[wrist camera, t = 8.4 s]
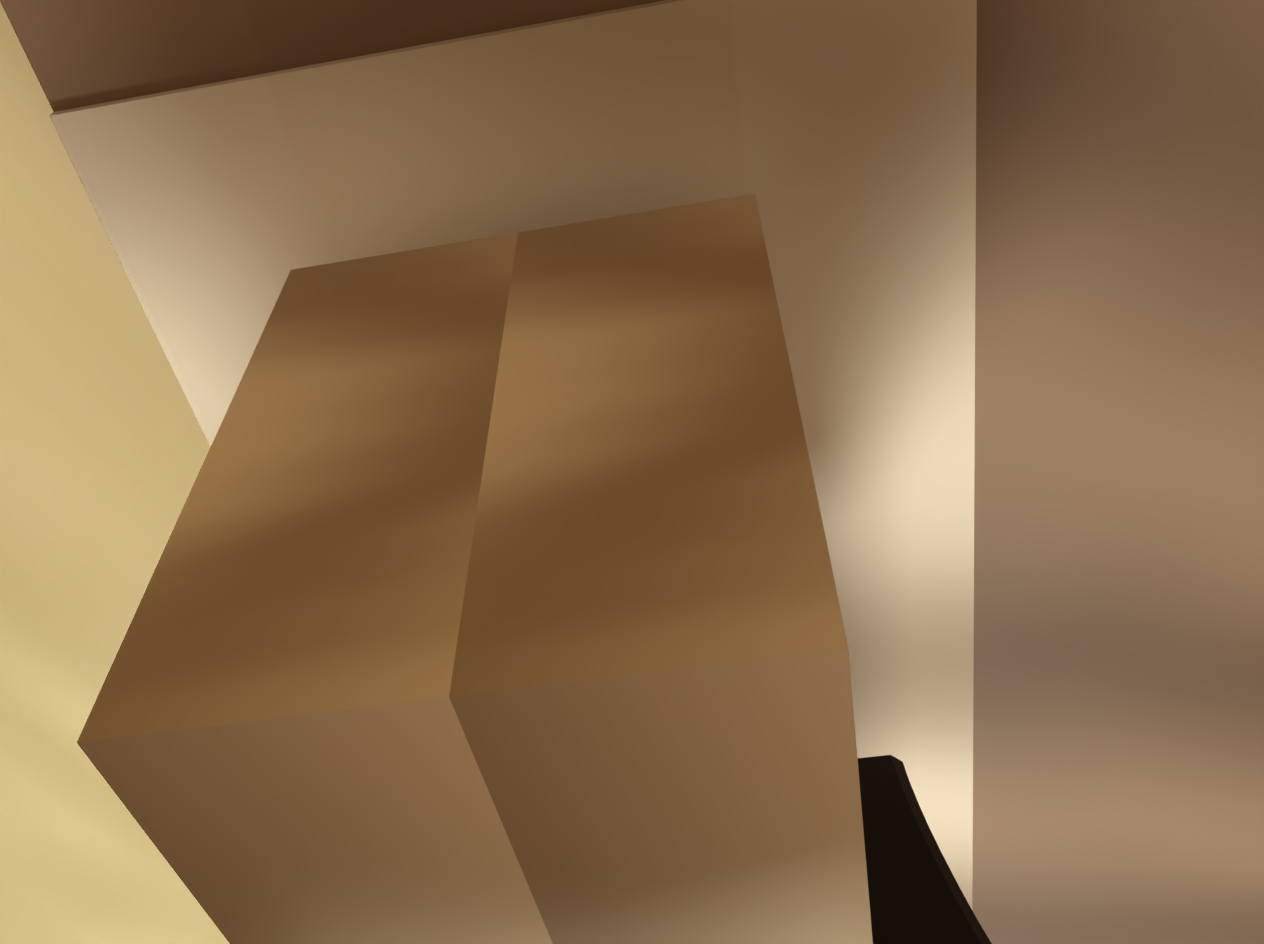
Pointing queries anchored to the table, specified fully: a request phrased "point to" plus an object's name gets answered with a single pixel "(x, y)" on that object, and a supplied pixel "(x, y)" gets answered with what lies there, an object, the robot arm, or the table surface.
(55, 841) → the table surface
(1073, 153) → the board
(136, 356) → the table surface
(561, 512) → the tan wooden bar
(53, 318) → the table surface
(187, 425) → the table surface
